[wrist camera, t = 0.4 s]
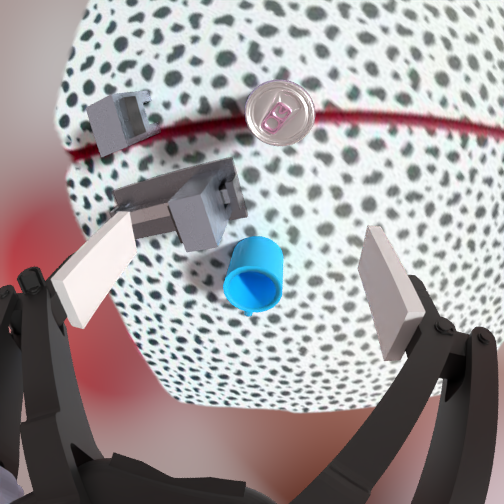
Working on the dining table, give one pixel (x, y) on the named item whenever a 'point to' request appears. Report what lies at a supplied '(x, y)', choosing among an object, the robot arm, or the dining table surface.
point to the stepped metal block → (120, 121)
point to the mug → (254, 275)
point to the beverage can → (279, 112)
